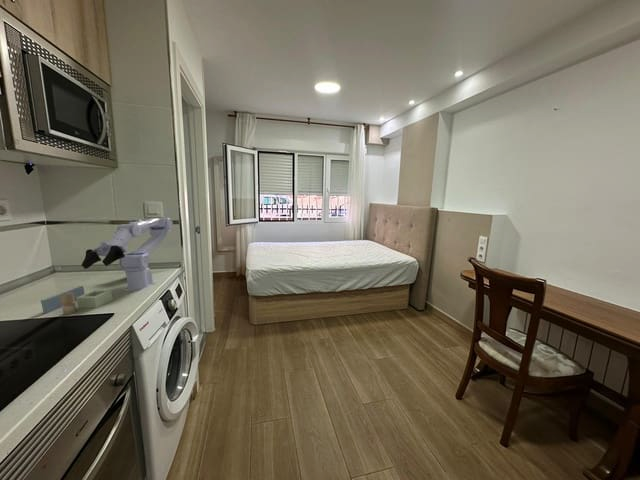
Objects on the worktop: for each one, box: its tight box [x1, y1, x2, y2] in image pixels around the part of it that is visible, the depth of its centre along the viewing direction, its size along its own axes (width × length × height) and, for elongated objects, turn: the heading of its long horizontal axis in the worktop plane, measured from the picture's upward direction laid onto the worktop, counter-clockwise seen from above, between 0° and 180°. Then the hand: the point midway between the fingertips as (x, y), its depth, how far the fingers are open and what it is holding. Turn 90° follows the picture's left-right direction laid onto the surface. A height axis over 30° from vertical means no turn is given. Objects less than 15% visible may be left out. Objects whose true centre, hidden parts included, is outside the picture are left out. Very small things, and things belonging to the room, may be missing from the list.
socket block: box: [76, 289, 114, 309], centre depth 98 cm, size 7×7×4 cm
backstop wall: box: [40, 285, 86, 314], centre depth 98 cm, size 14×2×5 cm, turn 176°
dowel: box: [60, 293, 78, 316], centre depth 91 cm, size 3×3×7 cm
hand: (94, 265), depth 92 cm, fingers open, 7 cm apart
